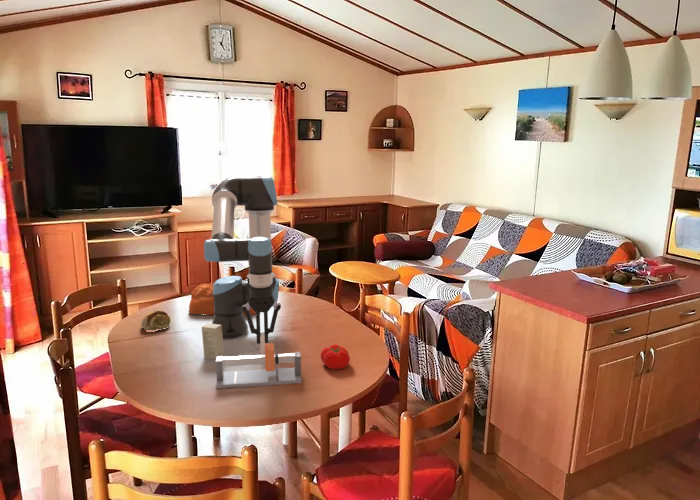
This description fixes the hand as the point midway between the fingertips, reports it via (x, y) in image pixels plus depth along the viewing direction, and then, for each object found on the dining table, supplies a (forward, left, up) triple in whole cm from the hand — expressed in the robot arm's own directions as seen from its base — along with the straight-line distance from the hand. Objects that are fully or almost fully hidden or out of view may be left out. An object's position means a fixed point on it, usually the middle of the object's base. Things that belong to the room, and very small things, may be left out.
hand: (262, 351), depth 182 cm
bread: (-57, +50, -10) cm, 76 cm away
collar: (+2, +1, -6) cm, 6 cm away
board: (-1, -1, -10) cm, 10 cm away
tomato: (+17, +21, -10) cm, 28 cm away
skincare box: (-27, +7, -10) cm, 30 cm away
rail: (-1, -1, -10) cm, 10 cm away
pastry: (-69, +20, -10) cm, 72 cm away
